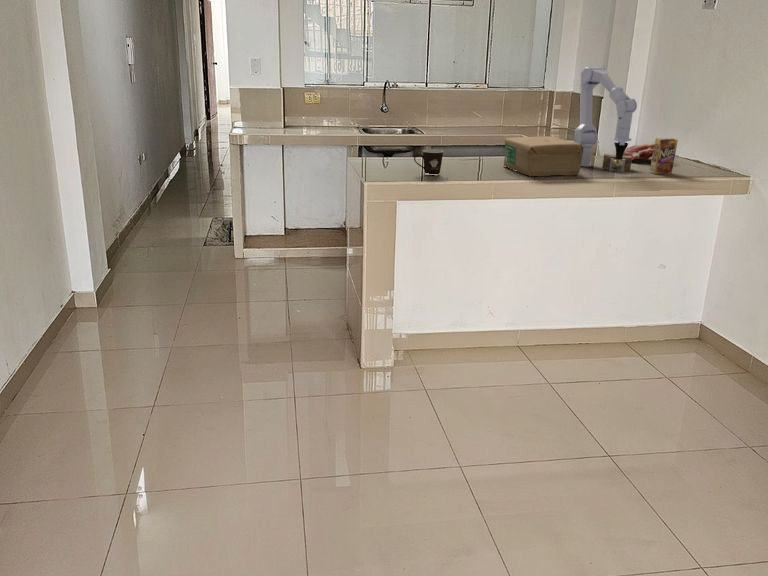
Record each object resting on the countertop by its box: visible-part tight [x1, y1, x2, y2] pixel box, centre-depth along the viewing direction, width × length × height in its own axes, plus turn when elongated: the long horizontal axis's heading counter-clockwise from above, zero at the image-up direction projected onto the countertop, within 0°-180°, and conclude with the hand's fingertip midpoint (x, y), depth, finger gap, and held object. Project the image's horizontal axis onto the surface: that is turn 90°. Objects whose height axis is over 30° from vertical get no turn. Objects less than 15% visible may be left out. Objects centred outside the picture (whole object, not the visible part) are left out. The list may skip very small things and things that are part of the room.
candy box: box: [649, 137, 679, 175], centre depth 298 cm, size 9×4×15 cm, turn 103°
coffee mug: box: [413, 149, 444, 174], centre depth 285 cm, size 12×9×10 cm
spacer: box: [608, 158, 625, 173], centre depth 303 cm, size 6×2×5 cm, turn 74°
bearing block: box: [601, 153, 633, 172], centre depth 307 cm, size 12×6×6 cm, turn 74°
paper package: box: [503, 135, 584, 177], centre depth 298 cm, size 27×26×14 cm
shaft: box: [612, 160, 623, 170], centre depth 305 cm, size 5×10×5 cm, turn 164°
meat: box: [623, 142, 655, 161], centre depth 329 cm, size 21×21×10 cm
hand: (618, 159), depth 295 cm, fingers closed
